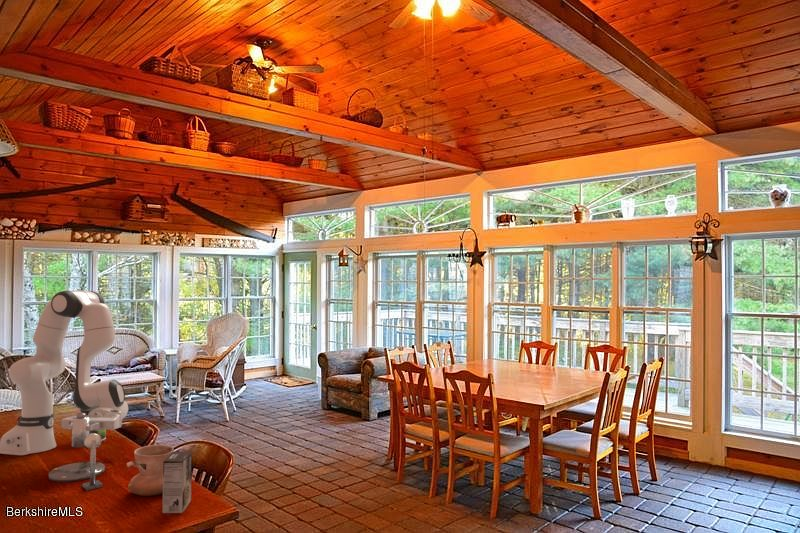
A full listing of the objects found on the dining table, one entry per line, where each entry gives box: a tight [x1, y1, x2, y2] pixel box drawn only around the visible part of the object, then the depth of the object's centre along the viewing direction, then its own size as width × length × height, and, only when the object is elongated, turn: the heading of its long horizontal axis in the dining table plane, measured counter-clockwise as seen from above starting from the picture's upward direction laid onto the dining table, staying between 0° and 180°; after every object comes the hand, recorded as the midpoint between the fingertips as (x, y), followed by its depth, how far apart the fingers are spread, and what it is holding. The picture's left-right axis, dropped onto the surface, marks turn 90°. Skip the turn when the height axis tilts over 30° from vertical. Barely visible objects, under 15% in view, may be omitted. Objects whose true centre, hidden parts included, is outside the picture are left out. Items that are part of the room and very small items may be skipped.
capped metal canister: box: [71, 412, 90, 448], centre depth 207 cm, size 6×6×12 cm
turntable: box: [48, 461, 106, 483], centre depth 206 cm, size 18×18×1 cm
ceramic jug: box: [126, 444, 175, 497], centre depth 190 cm, size 18×14×14 cm
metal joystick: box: [81, 433, 103, 491], centre depth 193 cm, size 5×5×18 cm
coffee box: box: [161, 451, 192, 514], centre depth 177 cm, size 9×6×16 cm
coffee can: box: [80, 406, 107, 441], centre depth 248 cm, size 10×10×14 cm
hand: (79, 428), depth 206 cm, fingers closed on capped metal canister, 5 cm apart
